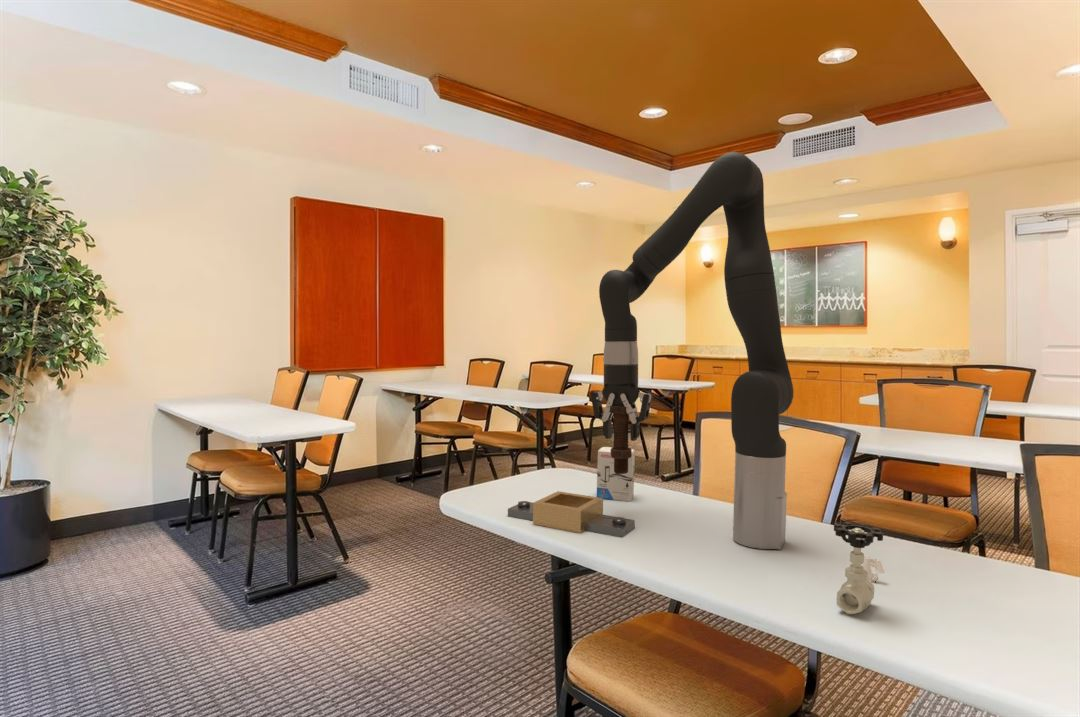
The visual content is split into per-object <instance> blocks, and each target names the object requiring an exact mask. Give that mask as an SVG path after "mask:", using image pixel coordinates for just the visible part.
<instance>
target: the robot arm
mask: <svg viewBox="0 0 1080 717" xmlns="http://www.w3.org/2000/svg"><path fill="white" fill-rule="evenodd" d="M763 177H764V176H763V173H762V170H761V169H760V167H759V166H758V165H757V164H756V162H754V161H753V160H752V159H751V158H749V157H748V156H747V155H745V154H743V153H741V152H737V151H731V152H726V153H724V154H721V155H719V157H717V158H716V159H715V160H714V161H713V162H712V163H711V165H710V166H709V167H708V168H707V170H706V171H705V172H704V174H702V176H701V177H700V178H699V180H698V181H697V183H696V184H695V185H694V187H693V188H692V190H690V192H689V193H688V194H687V195H686V197H685V198H684V199H683V201H682V202H681V203H680V204H679V205H678V206H677V207H676V209H675V210H674V211H673V212H672V213H671V214H670V216H668V218H667V219H666V220H665V221H664V222H663V223H662V224H661V225H660V226H659V227H658V228H657V229H656V230H655V231H654V232H653V233H652V234H651V235H650V236H649V237H648V238H646V240H645V241H644V242H643V243H642V244H641V245H640V246H639V247H638V248H636V250H635V251H634V252H633V254H632V257H631V258H632V262H631V264H629V266H628V267H627V268H626V269H625V270H620V269H610V270H608V271H607V272H605V274H603V276H602V278H601V280H600V282H599V286H598V288H599V289H598V290H599V291H598V293H599V294H598V295H599V296H598V297H599V302H600V307H601V312H602V317H603V319H604V348H603V357H602V361H603V388H602V390H600V391H599V390H598V391H592V392H590V400H591V405H592V410H593V417H594V418H595V419H599V420H600V421H602V435H603V437H604V438H605V439H606V440H610V439H612V438H613V421H612V418H613V413H610V406H612V405H615V406H626V412H627V414H628V415H629V421H630V422H631V423H630V441H631V442H635V441H637V440H638V438H639V437H640V434H641V433H640V428H641V427H640V426H641V425H640V424H641V422H644V421H647V420H648V419H649V415H650V411H651V410H650V409H651V405H652V399H653V394H652V393H651V392H649V393H648V392H647V393H646V392H642V391H641V390H640V389H639V348H638V347H639V346H638V323H637V319H636V317H635V316H634V315H633V314H632V312H631V305H630V304H631V303H633V302H635V301H637V300H638V299H639V298H641V297H642V296H643V295H644V293H645V292H646V291H647V290H648V288H649V287H650V286H651V284H652V283H653V281H655V279H656V277H657V276H658V275H659V274H660V273H661V272H662V271H664V270H665V269H667V267H668V266H669V265H670V264H671V263H673V261H675V259H677V258H678V257H679V256H680V254H681V253H682V252H684V250H685V248H687V246H688V244H689V243H690V241H691V240H692V238H693V237H694V235H695V234H696V232H697V230H698V229H699V228H700V227H701V225H702V224H703V223H705V221H706V220H707V219H708V218H709V217H710V216H711V215H712V214H713V213H714V212H716V211H718V210H719V209H720V208H721V207H723V212H724V217H725V221H726V227H727V244H726V245H727V246H726V251H725V258H724V266H723V267H724V270H723V271H724V272H723V275H724V287H725V292H726V293H725V294H726V300H727V305H728V309H729V312H730V314H731V317H732V319H733V321H734V323H735V325H736V327H737V330H738V331H739V333H740V336H741V337H742V341H743V343H744V346H745V349H746V355H747V364H748V365H747V366H748V371H745V372H743V373H742V374H741V375H739V376H738V377H737V379H735V382H734V384H733V385H732V390H731V399H730V401H731V402H730V408H731V409H730V411H731V412H730V415H731V418H730V419H731V420H730V421H731V425H730V426H731V435H732V438H733V441H734V448H735V450H734V454H735V455H734V484H733V485H734V487H733V488H734V489H733V517H732V518H733V520H732V523H733V524H732V525H733V526H732V539H733V541H734V542H736V543H737V544H740V545H742V546H744V547H749V548H753V549H761V550H781V549H782V548H783V545H785V542H786V535H787V534H786V533H787V532H786V531H787V529H786V528H787V498H788V497H787V496H788V495H787V494H788V493H787V492H786V468H787V467H786V464H787V443H786V442H787V441H786V440H785V439H784V438H783V437H782V436H781V434H780V415H782V414H784V413H785V412H786V411H788V409H789V408H790V407H791V404H792V403H793V400H794V386H793V381H792V376H791V373H790V370H789V365H788V362H787V361H788V360H787V357H786V352H785V348H784V344H783V338H782V329H781V328H782V327H781V318H780V313H779V306H778V304H779V303H778V295H777V294H778V293H777V292H778V291H777V285H776V277H775V271H774V266H773V260H772V255H771V249H770V244H769V239H768V234H767V230H766V222H765V198H764V197H765V195H764V194H765V193H764V192H765V191H764V178H763ZM603 397H604V399H605V400H606V404H605V407H604V409H603V403H602V400H603ZM638 399H639V401H640V403H641V407H640V411H639V412H638V407H637V405H636V401H637V400H638ZM631 406H633V409H632V408H631Z"/></svg>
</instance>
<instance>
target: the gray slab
mask: <svg viewBox="0 0 1080 717" xmlns="http://www.w3.org/2000/svg"><path fill="white" fill-rule="evenodd" d="M533 503H534V502H531V501H528V500H526V501H525V500H521V501H520V500H519V501H518V503H517V504H515V505H513V506H511V507H509V508H507V517H509V518H510V517H512V518H516V519H520V520H521V519H522V520H527V521H532V522H533Z"/></svg>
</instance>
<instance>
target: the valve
mask: <svg viewBox="0 0 1080 717" xmlns="http://www.w3.org/2000/svg"><path fill="white" fill-rule="evenodd" d="M833 531H834V532H835V536H836V537H841V539H842V540H843V542H845V543H847V544H849V545H850V546H851V547H853V550H852V551H850V553H849V562H850V563H851V564H850V565H849V566H847V567H845V570H844V571H845V572H844V576H845V577H846V578H847V581H845V582H843V584H842V585H841V587H840V589H839V590H838V591H837V592H836V606H837V607H838V608H840V609H841V610H842V611H843V612H844V613H846V614H847V613H848V614H851V615H855V614H858V613H859V614H860V613H862V612H863V611H864V610H865V609H867V608H868V607H869V606H870V605H871V603H872V601H873V599H874V598H875V597H874V596H875V585H874V584H873V582H870V581H868V580H867V579H868V572H867V571H866V570H864V567H863V566H862V564H863V563H864V556H865V553H863V552H862V549H865V548H866V547H868V546H869V547H870V545H872V543H874V538H877V539H876V541H878V542H882V541H883V540H884V532H882V531H881V528H879V527H868V524H867V523H859V524H853V523H852V522H850V521H844V522H843V524H841V523H833ZM848 614H847V615H848Z"/></svg>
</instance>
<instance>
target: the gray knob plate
mask: <svg viewBox="0 0 1080 717" xmlns="http://www.w3.org/2000/svg"><path fill="white" fill-rule="evenodd" d="M635 524H636V520H635V519H631V518H630V519H629V518H627V517H622V516H621V517H620V516H614V515H613V516H612V515H608V514H604V513H603V514H598V515H597V516H595V517H593V518H592V519H590V520H588V521H587V522H585V532H591V533H597V534H602V535H608V536H612V537H618V538H623V537H624V536H626V535H627V534H628V533H630V532H631V531H633V529H635V528H636V526H635Z"/></svg>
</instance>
